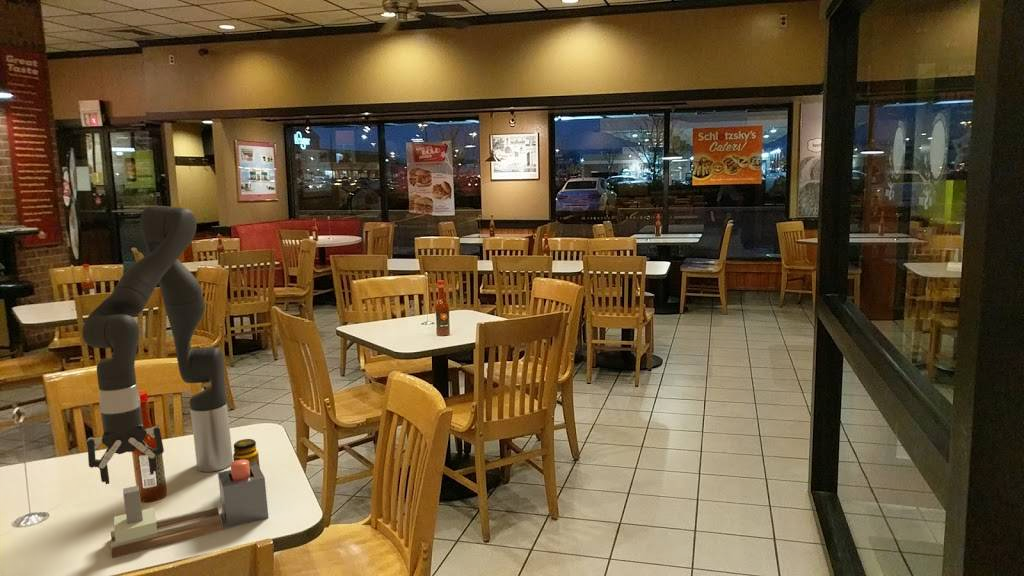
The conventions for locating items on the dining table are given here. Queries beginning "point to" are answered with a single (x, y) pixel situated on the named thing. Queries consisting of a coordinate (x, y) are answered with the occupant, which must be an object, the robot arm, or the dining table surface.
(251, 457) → the condiment
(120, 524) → the carriage
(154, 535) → the rail track
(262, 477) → the cabinet
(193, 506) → the dining table surface
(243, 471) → the plunger
